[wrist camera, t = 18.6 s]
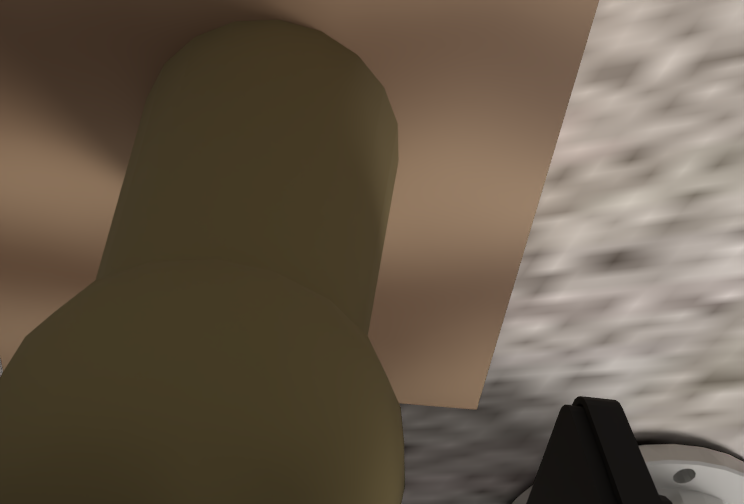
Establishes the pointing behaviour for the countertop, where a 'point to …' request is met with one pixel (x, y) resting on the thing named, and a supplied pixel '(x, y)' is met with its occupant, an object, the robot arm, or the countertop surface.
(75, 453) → the cork
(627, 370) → the countertop surface
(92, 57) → the board
